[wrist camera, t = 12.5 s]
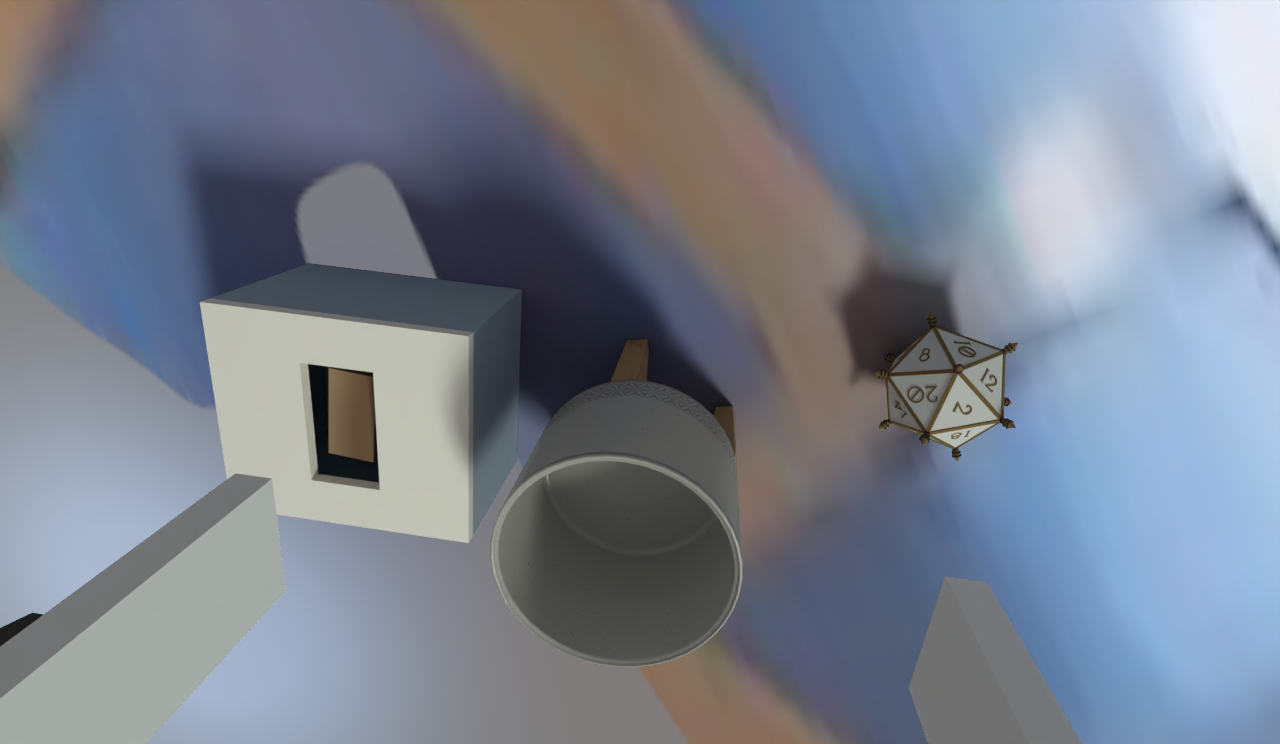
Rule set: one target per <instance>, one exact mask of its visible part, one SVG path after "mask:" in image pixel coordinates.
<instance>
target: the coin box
mask: <svg viewBox="0 0 1280 744" xmlns="http://www.w3.org/2000/svg"><path fill="white" fill-rule="evenodd" d="M200 306H201V313H202V319H203V326H204V332H205V339H206V345H207V352H208V358H209V365H210V371H211V378H212V384H213V391H214V397H215V404H216V410H217V417H218V423H219V430H220V436H221V442H222V449H223V456H224V462H225V468H226V475H227V479H228V478H230V477H231V476H233V475H234V474H235V473H237V474H244V475H251V476H258V477H265V478H272V481H273V489H274V497H275V505H276V513H277V514H278V515H285V516H292V517H299V518H305V519H311V520H318V521H325V522H332V523H338V524H345V525H352V526H358V527H365V528H372V529H379V530H385V531H392V532H399V533H405V534H412V535H419V536H425V537H432V538H439V539H446V540H452V541H459V542H466V543H468V542H469V541H470V540H471V538H472V536H473V534H474V533H475V531H476V529H477V528H478V526H479V524H480V522H481V521H482V519H483V517H484V516H485V514H486V512H487V510H488V509H489V507H490V505H491V504H492V502H493V500H494V498H495V497H496V495H497V493H498V492H499V490H500V488H501V487H502V485H503V483H504V481H505V480H506V478H507V476H508V475H509V473H510V471H511V469H512V468H513V466H514V464H515V463H516V461H517V436H518V404H519V371H520V339H521V307H522V289H514V288H506V287H498V286H490V285H482V284H473V283H465V282H457V281H449V280H441V279H432V278H424V277H416V276H408V275H400V274H392V273H384V272H375V271H367V270H359V269H351V268H343V267H335V266H326V265H318V264H310V263H308V264H305V265H303V266H300V267H297V268H294V269H291V270H288V271H286V272H283V273H280V274H277V275H274V276H272V277H269V278H266V279H263V280H260V281H257V282H255V283H252V284H249V285H246V286H243V287H240V288H238V289H235V290H232V291H229V292H226V293H224V294H221V295H218V296H215V297H212V298H209V299H207V300H204V301H201V302H200ZM329 367H335V368H343V369H350V370H358V371H365V372H373V380H374V398H375V415H376V433H377V451H378V458H377V459H376V460H375V461H374V462H369V461H364V460H360V459H355V458H350V457H346V456H341V455H336V454H332V453H329Z"/></svg>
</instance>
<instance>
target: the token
mask: <svg viewBox="0 0 1280 744" xmlns="http://www.w3.org/2000/svg"><path fill="white" fill-rule="evenodd" d="M329 453H332V454H336V455H341V456H346V457H350V458H355V459H360V460H364V461H369V462H374V461H375V460H376V459H377V458H378V451H377V433H376V415H375V398H374V380H373V372H365V371H358V370H350V369H343V368H335V367H329Z"/></svg>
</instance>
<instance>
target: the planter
mask: <svg viewBox="0 0 1280 744" xmlns="http://www.w3.org/2000/svg"><path fill="white" fill-rule="evenodd" d="M648 358H649V349H648V341H647V339H639V340H628V341H627V342H626V344H625V347H624V349H623V352H622V354H621V357H620V359H619V362H618V364H617V367H616V369H615V372H614V374H613V376H612V379H611V382H608V383H604V384H600V385H597V386H594V387H592V388H589V389H587V390H585V391H583V392H581V393H579V394H578V395H576V396H574V397H573V398H571V399H570V400H569V401H568V402H566V403H565V404H564V405H563V406H562V407H561V408H560V409H559V410H558V411H557V412H556V413H555V414H554V416H553V417H552V418H551V420H550V422H549V423H548V425H547V426H546V428H545V430H544V432H543V433H542V435H541V437H540V439H539V441H538V442H537V444H536V446H535V448H534V450H533V452H532V453H531V455H530V457H529V459H528V461H527V462H526V464H525V466H524V468H523V470H522V471H521V473H520V475H519V477H518V479H517V481H516V482H515V485H514V486H513V488H512V490H511V491H510V493H509V495H508V497H507V499H506V500H505V502H504V504H503V506H502V508H501V509H500V511H499V514H498V516H497V519H496V521H495V524H494V527H493V532H492V536H491V545H490V546H491V547H490V558H491V565H492V571H493V575H494V578H495V581H496V584H497V587H498V589H499V591H500V593H501V595H502V597H503V599H504V601H505V603H506V604H507V606H508V607H509V608H510V610H511V611H512V613H513V614H514V616H515V617H516V618H517V619H518V620H519V621H520V622H521V623H522V624H523V625H524V626H525V627H526V628H527V629H528V630H529V631H531V632H532V633H533V634H534V635H535V636H536V637H538V638H539V639H541V640H542V641H544V642H545V643H547V644H548V645H550V646H551V647H553V648H555V649H557V650H559V651H561V652H563V653H565V654H567V655H569V656H572V657H575V658H578V659H581V660H584V661H587V662H591V663H596V664H600V665H606V666H616V667H642V666H649V665H656V664H660V663H664V662H668V661H671V660H674V659H677V658H679V657H681V656H684V655H686V654H688V653H690V652H692V651H693V650H695V649H697V648H699V647H700V646H702V645H703V644H704V643H706V642H707V641H708V640H709V639H710V638H712V637H713V636H714V635H715V634H716V633H717V632H718V631H719V630H720V628H721V627H722V626H723V625H724V624H725V622H726V621H727V619H728V618H729V616H730V614H731V613H732V611H733V610H734V607H735V604H736V602H737V599H738V597H739V594H740V588H741V583H742V549H741V532H740V515H739V498H738V481H737V460H736V443H735V426H734V413H733V406H721V407H716V409H715V412H714V414H713V415H712V414H711V413H710V412H709V411H708V410H707V409H706V408H705V407H704V406H703V405H701V404H700V403H698V402H697V401H696V400H694V399H693V398H692V397H690V396H688V395H686V394H684V393H682V392H680V391H679V390H677V389H674V388H671V387H668V386H665V385H663V384H659V383H654V382H649V381H647V368H648Z"/></svg>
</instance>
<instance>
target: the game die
mask: <svg viewBox="0 0 1280 744" xmlns="http://www.w3.org/2000/svg"><path fill="white" fill-rule="evenodd" d="M927 320H928V323H929V325H930V328H929V329H927V330H926V331H925V332H924V333H923V334H922V335H921V336H920V337H918V338H917V339H916V340H915V341H914V342H913V343H912V344H910V345H909V346H908V347H907V348H906V349H905V350H904V351H903V352H901V353H900V354H899V355H898V356H897V357H896V358H895V357H894V355H892V354H891V353H890V354H886V355H885V358H886V360H887V361H889V362H892V364H891V366H890V368H889V370H888V372H886V371H883V370H878V371H876V372H874V373H875V374H876V375H877V376H878V378H882V379H883V378H886V388H887V403H888V418H889V419H888V420H884V421H883V422H881V424H880V426H879V428H885V429H886V427H889V425H890V424H891V423H892V424H894V425H897V426H899V427H902V428H904V429H906V430H909V431H911V432H914V433H916V434H918V435H921V438H919V439H920V440H921V442H922V444H925V443H929V440H933V441H935V442H938V443H940V444H942V445H945V446H947V447H950V448H952V449H953V451H952V457H954V458H955V459H956V460H957V461H958V459H959V458H960V456H962V455H961V454H960V452H961V451H959V449H958V447H960V446H962V445H963V444H965V443H967V442H968V441H970V440H972V439H973V438H975V437H977V436H978V435H980V434H982V433H983V432H985V431H987V430H988V429H990V428H992V427H993V426H995V425H997V424H998V423H1001V424H1002V425H1003V427H1004V426H1005V427H1006V429H1007V428H1016V427H1015V425H1014V424H1013V421H1012V420H1009V419H1007V418H1006V419H1005V418H1004V405H1005V406H1008V405H1009V404H1011V402H1010V400H1009V399H1008V398H1005V397H1004V390H1005V358H1006V354H1007V353H1012V351H1015V348H1016V346H1017V344H1018V343H1011V344H1010V343H1009V345H1007V346H1005V348H1004V349H999V348H996V347H994V346H991V345H988V344H985V343H982V342H980V341H977V340H974V339H971V338H968V337H965V336H963V335H960V334H957V333H954V332H951V331H949V330H946V329H943V328H940V327H937V326H936V322H937V321H936V317H935V316H934V315H933V314H932V313H930V315H929V317H928V319H927Z"/></svg>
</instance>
